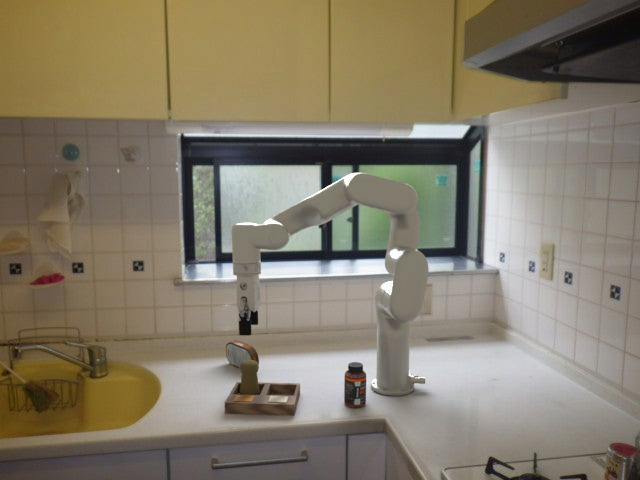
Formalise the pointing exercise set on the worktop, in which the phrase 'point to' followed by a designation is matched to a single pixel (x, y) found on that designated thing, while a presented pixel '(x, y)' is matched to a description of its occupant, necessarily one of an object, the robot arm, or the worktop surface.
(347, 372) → the supplement bottle
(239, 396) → the socket block
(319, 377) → the worktop surface
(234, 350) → the tin
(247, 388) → the olive piece
